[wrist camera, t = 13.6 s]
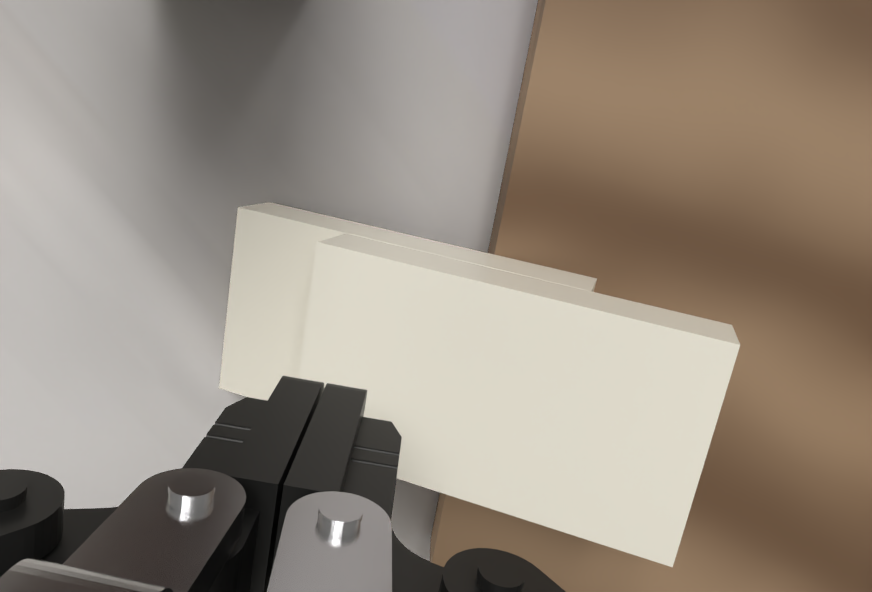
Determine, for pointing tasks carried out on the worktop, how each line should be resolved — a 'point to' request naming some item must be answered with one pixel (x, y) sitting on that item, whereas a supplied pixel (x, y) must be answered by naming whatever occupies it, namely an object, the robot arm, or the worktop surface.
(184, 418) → the worktop surface
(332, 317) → the domino
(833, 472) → the cutting board
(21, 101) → the worktop surface
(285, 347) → the domino
